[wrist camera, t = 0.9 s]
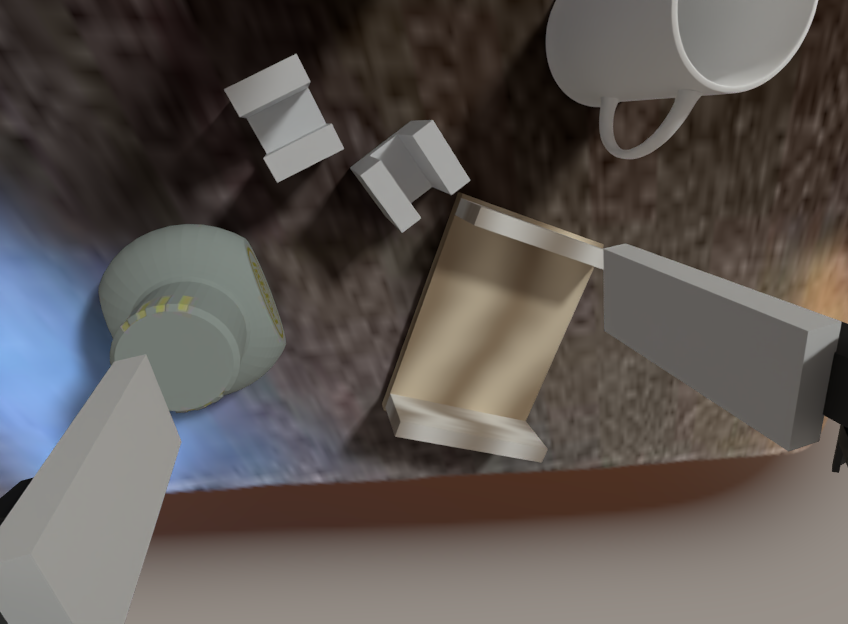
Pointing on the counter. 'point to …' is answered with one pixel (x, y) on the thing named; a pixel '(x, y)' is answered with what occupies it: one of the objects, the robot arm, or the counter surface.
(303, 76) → the clip
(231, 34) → the counter surface
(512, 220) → the end holder
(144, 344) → the air freshener
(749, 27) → the mug
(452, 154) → the clip
